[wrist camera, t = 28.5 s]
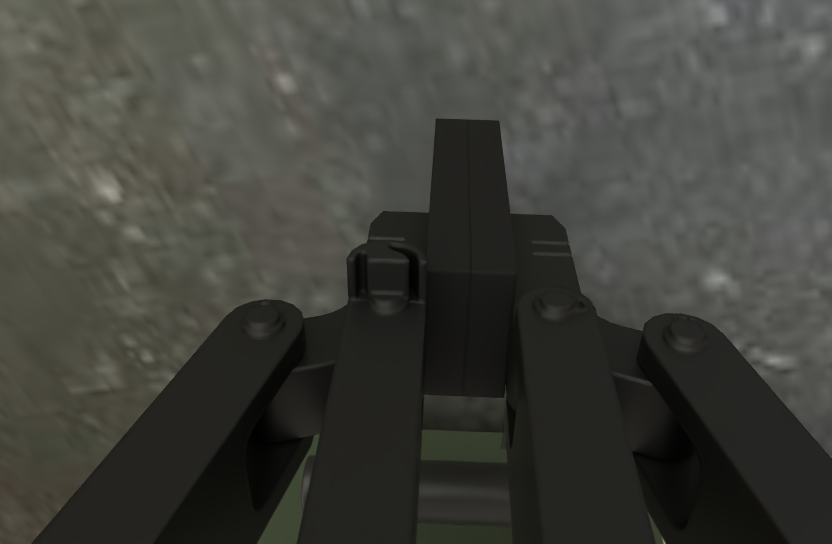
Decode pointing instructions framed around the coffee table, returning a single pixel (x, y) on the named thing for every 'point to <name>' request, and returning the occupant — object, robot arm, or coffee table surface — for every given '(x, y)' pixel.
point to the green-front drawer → (434, 492)
